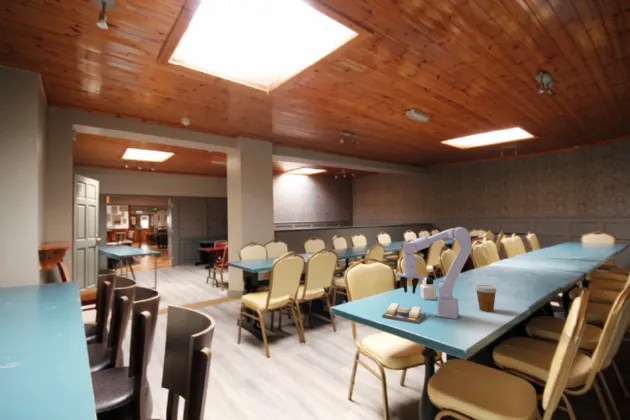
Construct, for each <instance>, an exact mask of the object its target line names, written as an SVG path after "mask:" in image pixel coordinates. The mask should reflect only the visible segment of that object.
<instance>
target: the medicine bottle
mask: <svg viewBox="0 0 630 420" xmlns="http://www.w3.org/2000/svg"><path fill="white" fill-rule="evenodd" d="M420 297H421V298H422V299H423V300H424V301H425V300H428V301H429V300H431V301H435V300H436V301H437V287H435V286H434V279H433V278H432V277H429V276H428V277H427V276H426V277H425V279H424V280H422V284H420Z"/></svg>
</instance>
